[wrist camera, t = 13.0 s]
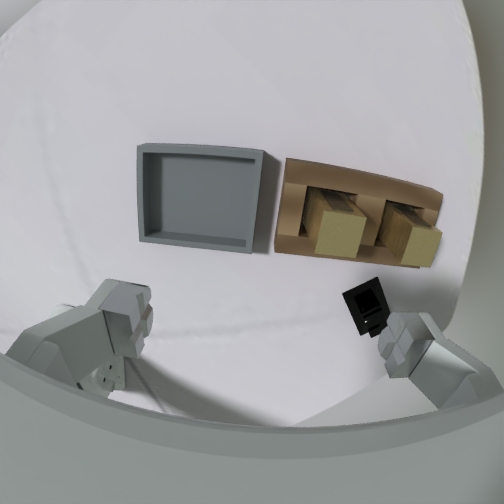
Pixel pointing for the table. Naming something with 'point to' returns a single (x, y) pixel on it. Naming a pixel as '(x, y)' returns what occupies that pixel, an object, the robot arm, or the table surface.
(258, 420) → the table surface
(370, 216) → the pallet
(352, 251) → the block
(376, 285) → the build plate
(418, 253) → the block
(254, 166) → the shallow grey tray
